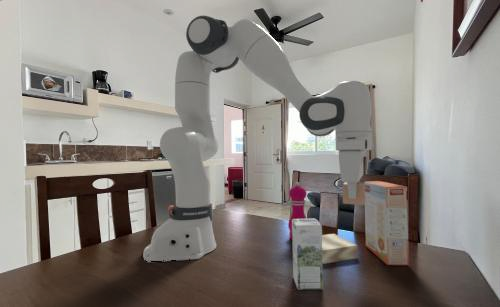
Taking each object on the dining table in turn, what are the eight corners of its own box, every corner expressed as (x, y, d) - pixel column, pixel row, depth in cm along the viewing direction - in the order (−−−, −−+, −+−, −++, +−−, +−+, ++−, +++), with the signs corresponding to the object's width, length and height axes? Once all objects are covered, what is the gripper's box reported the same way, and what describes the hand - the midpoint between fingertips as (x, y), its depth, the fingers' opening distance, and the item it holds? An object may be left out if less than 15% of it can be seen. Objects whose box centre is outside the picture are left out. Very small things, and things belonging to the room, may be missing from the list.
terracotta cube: (364, 205, 61) (364, 185, 61) (342, 203, 63) (342, 184, 63) (365, 201, 65) (365, 182, 65) (345, 200, 68) (345, 182, 68)
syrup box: (316, 277, 59) (314, 217, 59) (323, 290, 53) (322, 224, 53) (292, 277, 59) (291, 217, 59) (297, 291, 53) (295, 224, 53)
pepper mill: (310, 242, 83) (308, 183, 83) (288, 241, 84) (287, 183, 84) (308, 235, 90) (307, 180, 90) (288, 234, 91) (287, 180, 91)
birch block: (323, 265, 66) (323, 250, 66) (303, 250, 77) (303, 237, 77) (357, 259, 69) (357, 245, 69) (334, 245, 80) (333, 233, 80)
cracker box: (410, 266, 63) (408, 186, 64) (386, 266, 64) (384, 186, 64) (384, 246, 77) (382, 180, 78) (365, 246, 78) (363, 180, 78)
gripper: (345, 145, 75) (346, 190, 75) (334, 142, 57) (335, 202, 57) (368, 144, 72) (368, 191, 72) (364, 141, 54) (365, 204, 54)
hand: (353, 196), depth 64 cm, fingers closed on terracotta cube, 5 cm apart
